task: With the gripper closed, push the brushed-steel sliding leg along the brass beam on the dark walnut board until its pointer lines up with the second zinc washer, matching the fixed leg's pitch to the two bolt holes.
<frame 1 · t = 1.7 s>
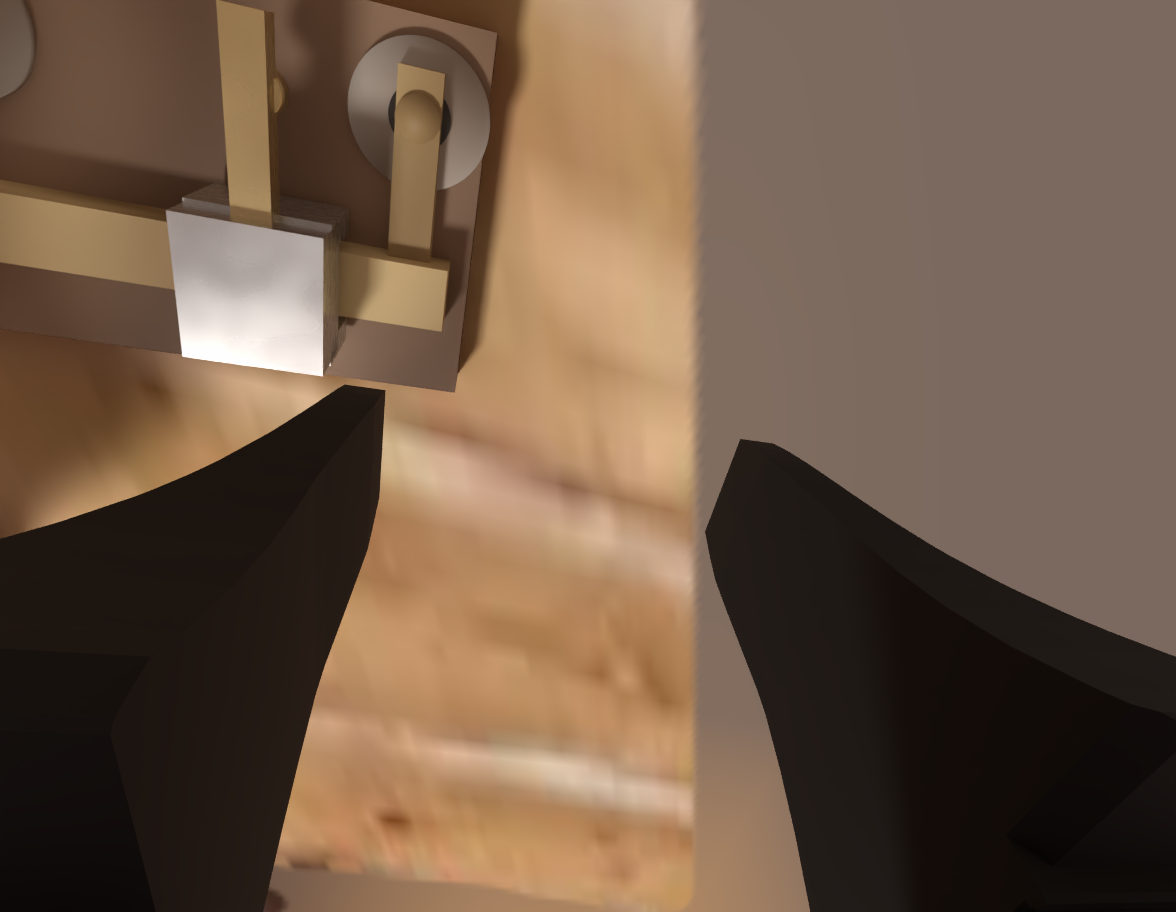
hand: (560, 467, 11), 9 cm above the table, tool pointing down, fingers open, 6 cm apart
pitch board: (194, 172, 16), on the table
sliding leg: (265, 199, 14), point 3 cm above the table, slide at 2.5 cm
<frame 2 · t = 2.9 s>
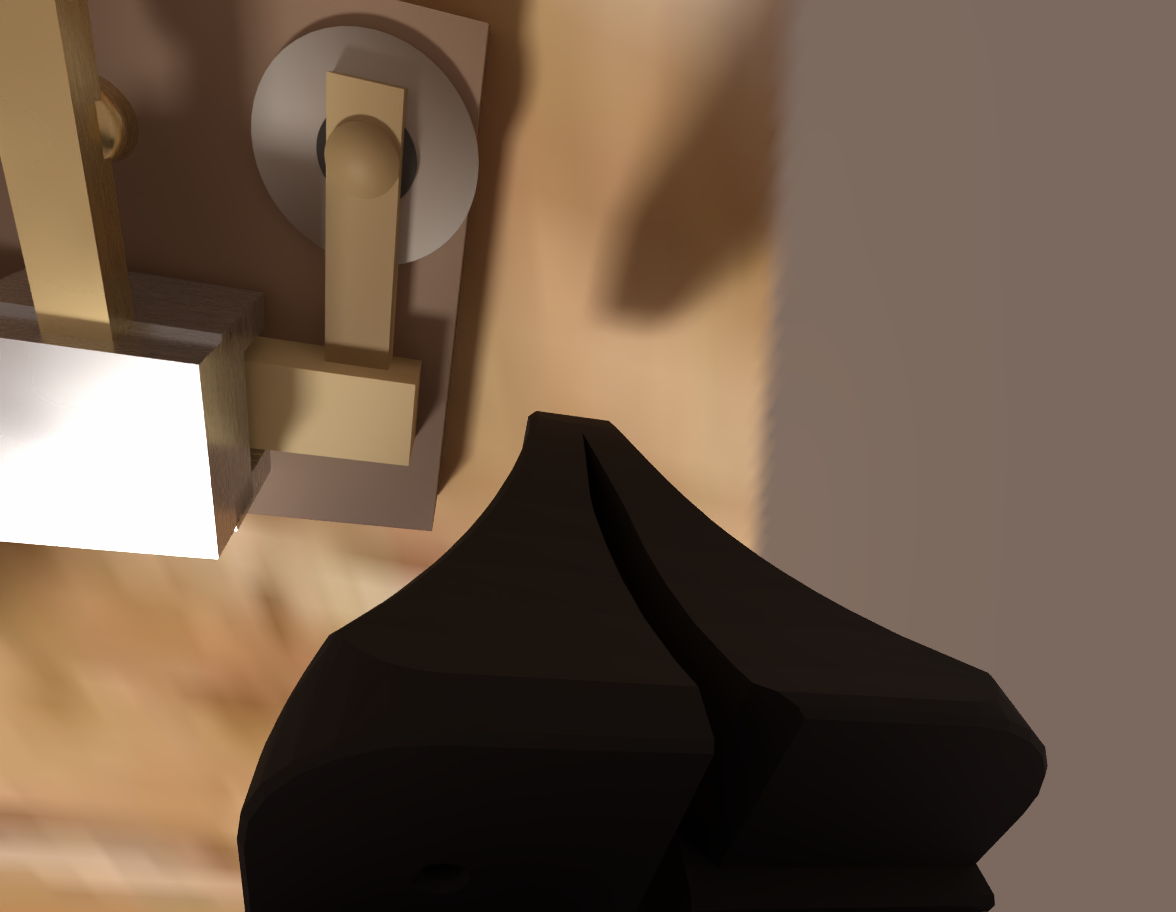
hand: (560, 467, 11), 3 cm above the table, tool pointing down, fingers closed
pitch board: (35, 234, 11), on the table
sliding leg: (114, 292, 9), point 3 cm above the table, slide at 2.5 cm
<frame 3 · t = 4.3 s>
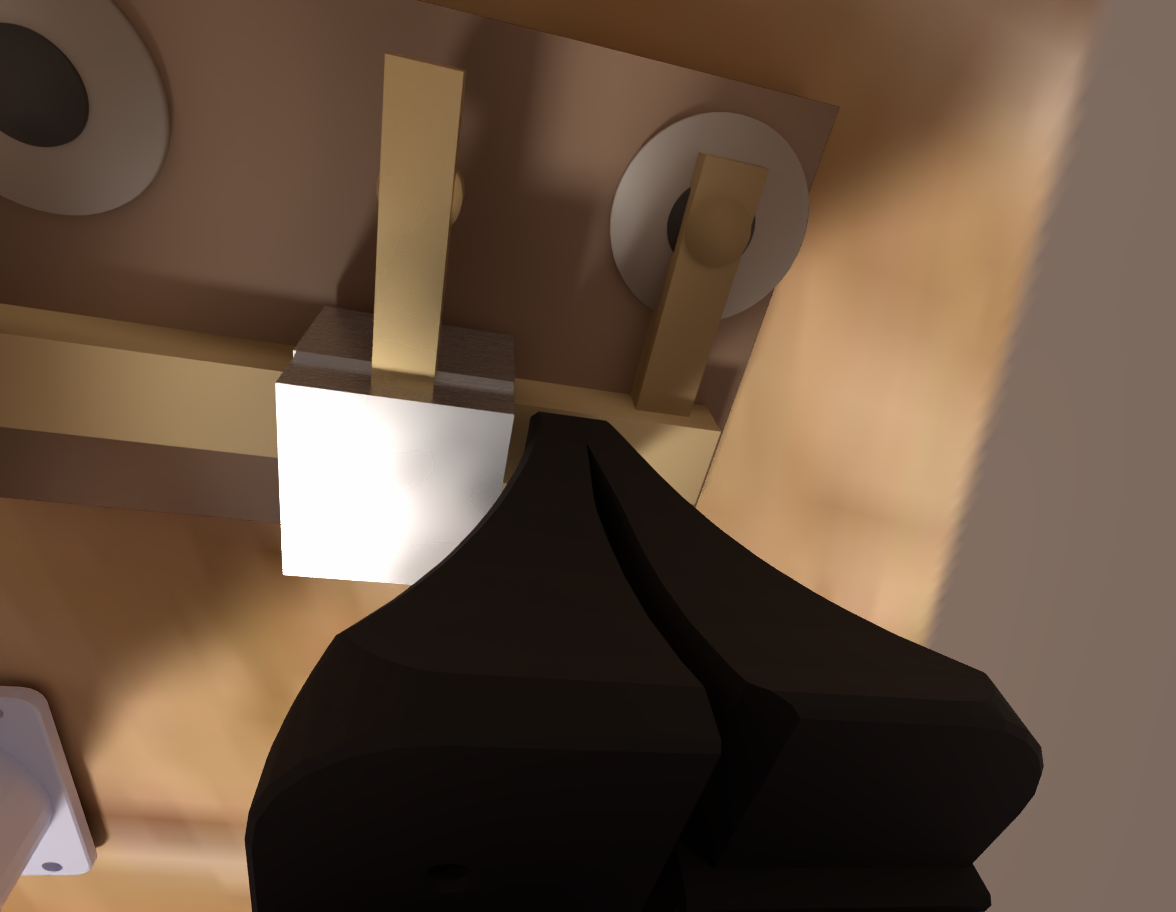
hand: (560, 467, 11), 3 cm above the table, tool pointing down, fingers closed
pitch board: (362, 291, 12), on the table
sliding leg: (412, 343, 9), point 3 cm above the table, slide at 1.2 cm, touching gripper
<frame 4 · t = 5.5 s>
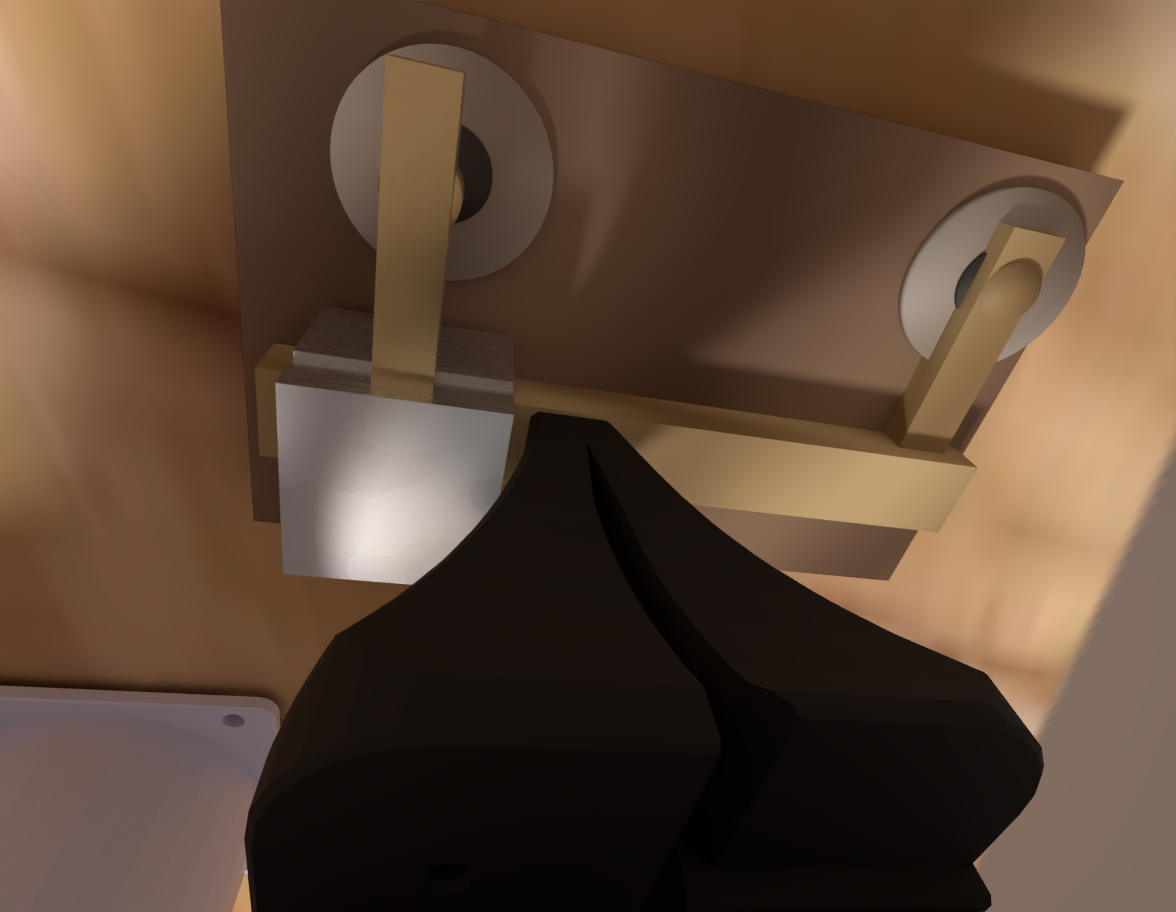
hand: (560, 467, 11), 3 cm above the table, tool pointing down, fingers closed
pitch board: (644, 338, 13), on the table
sliding leg: (412, 343, 9), point 3 cm above the table, slide at -4.1 cm, touching gripper
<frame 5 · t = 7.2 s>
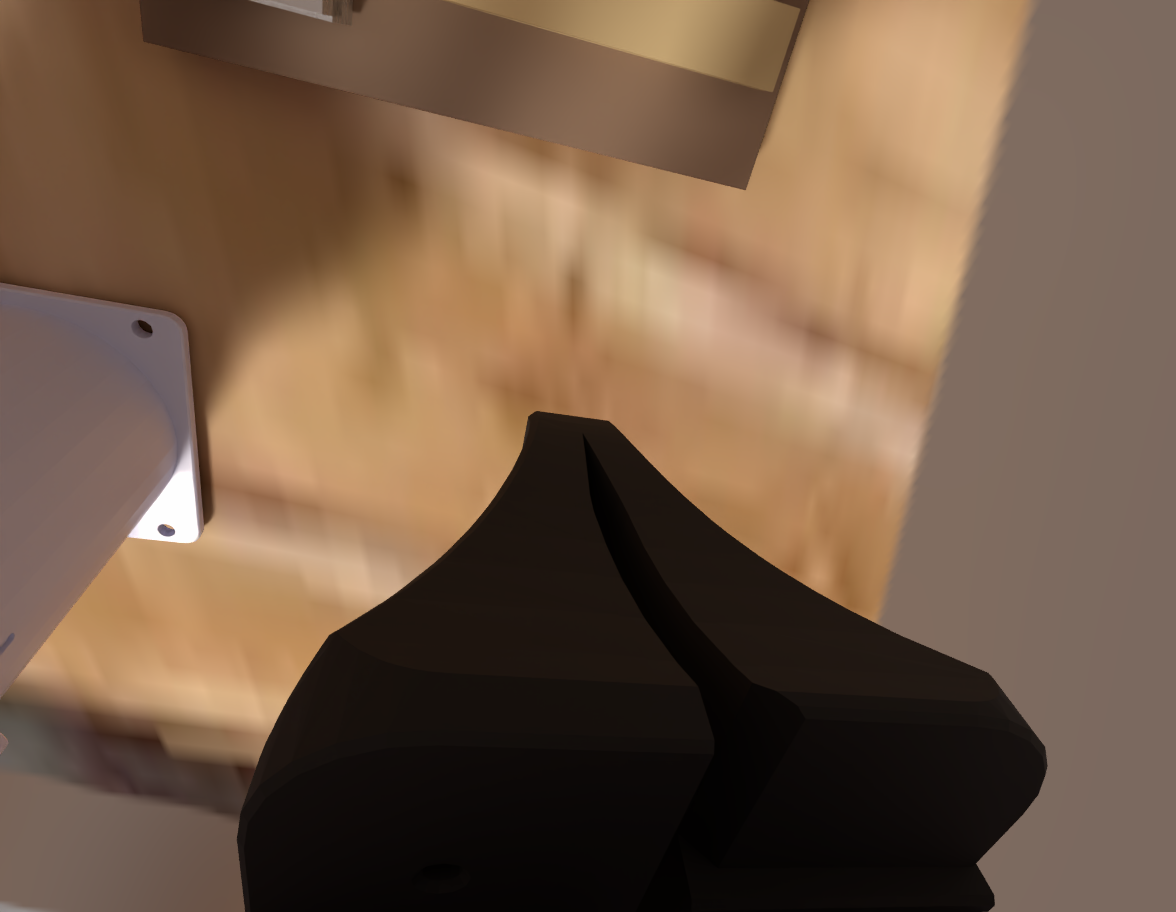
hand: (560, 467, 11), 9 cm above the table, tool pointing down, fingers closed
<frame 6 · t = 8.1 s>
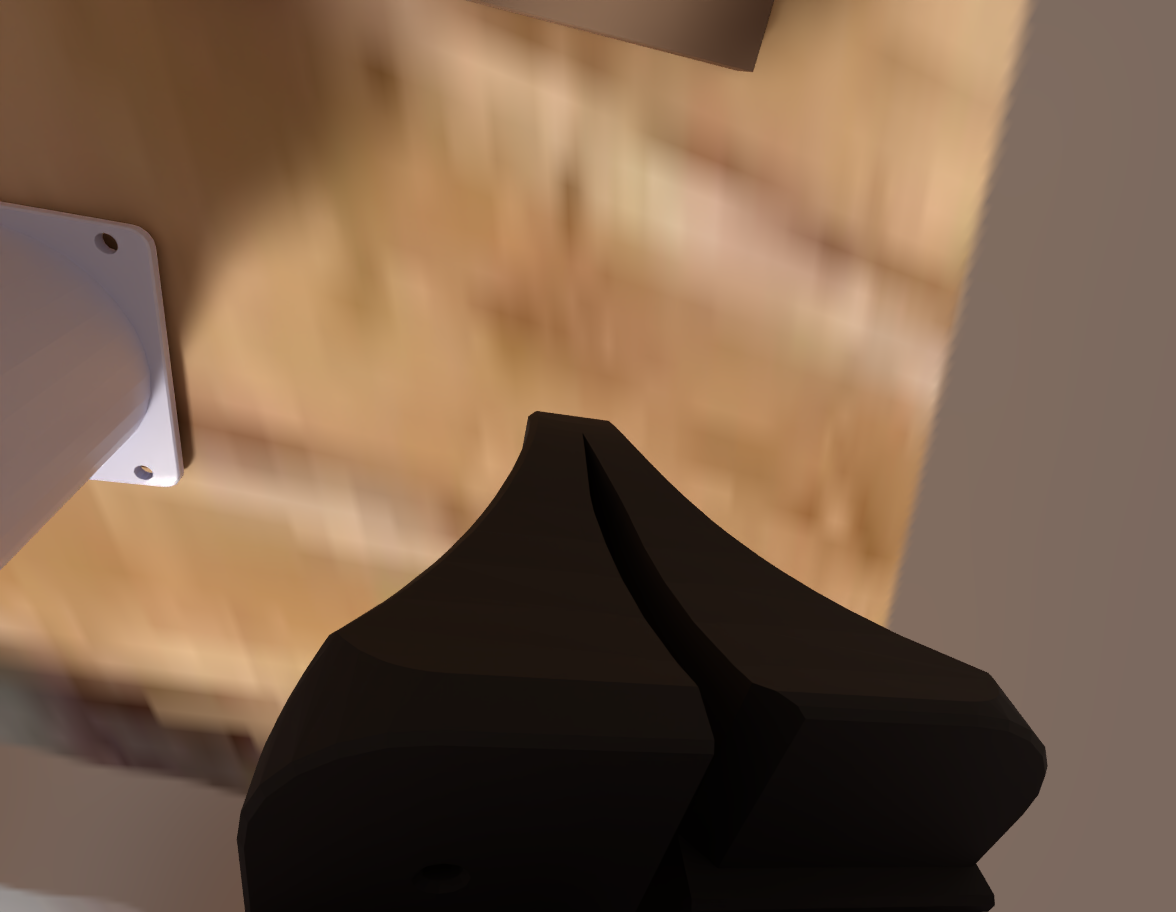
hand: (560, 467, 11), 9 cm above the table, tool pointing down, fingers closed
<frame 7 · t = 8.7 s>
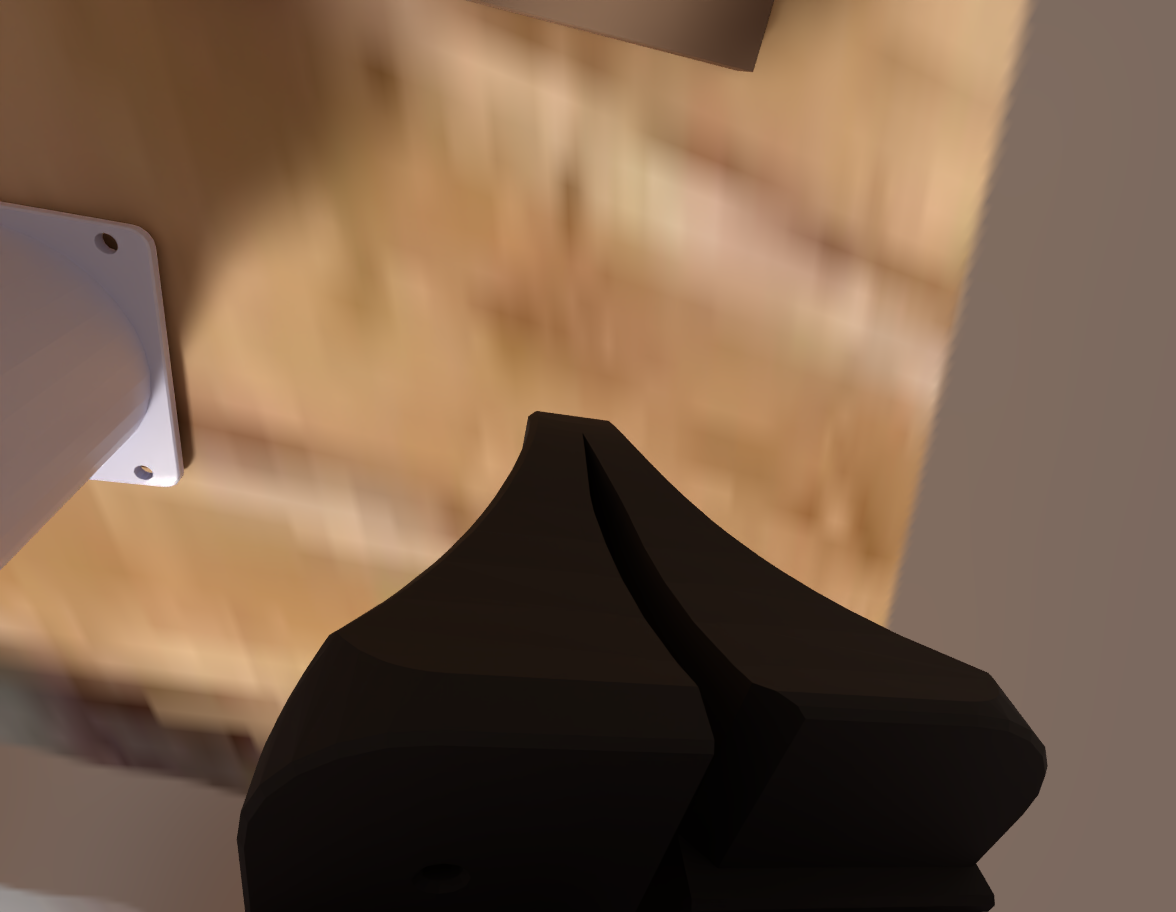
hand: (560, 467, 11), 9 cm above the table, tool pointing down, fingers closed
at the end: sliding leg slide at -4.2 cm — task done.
